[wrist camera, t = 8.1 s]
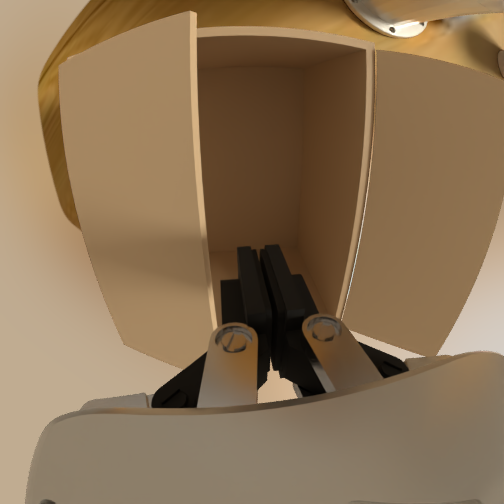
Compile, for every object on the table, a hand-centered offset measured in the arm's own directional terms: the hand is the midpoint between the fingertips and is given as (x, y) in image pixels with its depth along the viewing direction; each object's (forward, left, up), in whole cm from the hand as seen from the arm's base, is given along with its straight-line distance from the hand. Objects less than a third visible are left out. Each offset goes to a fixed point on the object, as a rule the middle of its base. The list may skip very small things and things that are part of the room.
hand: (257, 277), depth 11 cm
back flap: (0, +11, -3) cm, 12 cm away
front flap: (0, -6, -4) cm, 7 cm away
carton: (0, -1, -20) cm, 20 cm away
